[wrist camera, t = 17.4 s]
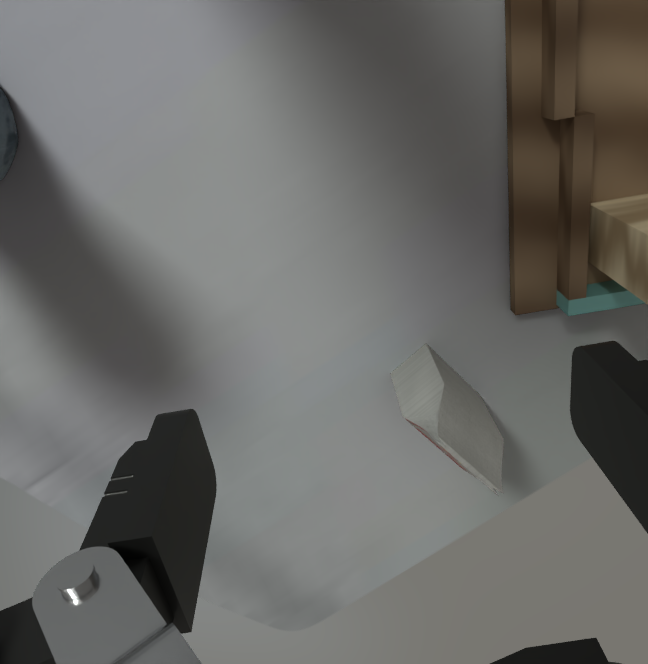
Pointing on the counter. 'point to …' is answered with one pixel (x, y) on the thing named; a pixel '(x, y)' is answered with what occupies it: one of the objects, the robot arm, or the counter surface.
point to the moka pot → (6, 135)
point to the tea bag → (450, 415)
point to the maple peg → (621, 242)
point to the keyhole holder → (571, 142)
